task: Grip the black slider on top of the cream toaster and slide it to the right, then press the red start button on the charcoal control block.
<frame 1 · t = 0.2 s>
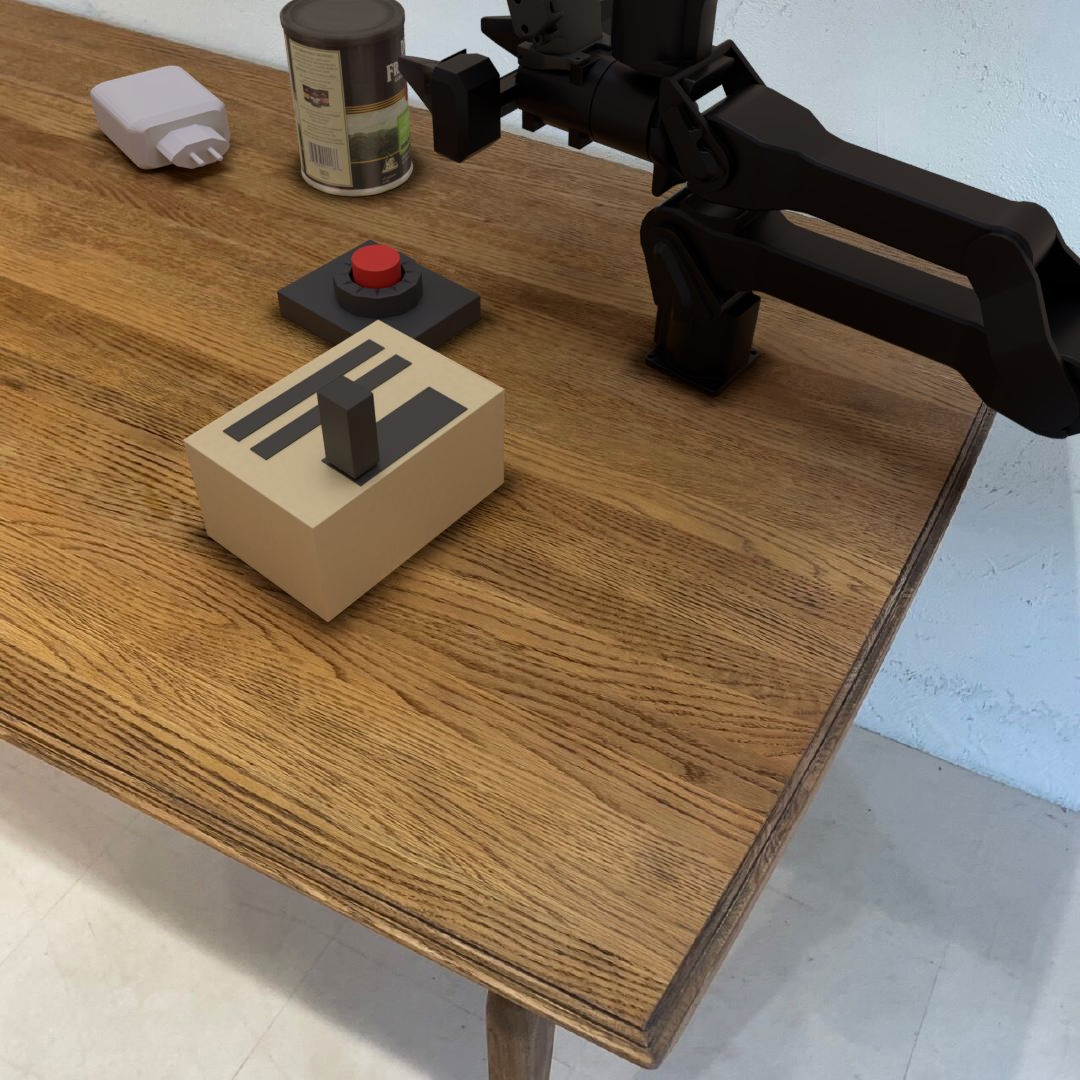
hand: (441, 42, 84), 17 cm above the table, tool horizontal, fingers open, 9 cm apart
slider: (349, 427, 63), point 11 cm above the table, slide at 0.0 cm
coffee can: (357, 171, 105), on the table
control block: (380, 316, 89), on the table
charger: (180, 155, 106), on the table
start button: (376, 267, 86), point 4 cm above the table, slide at 0.1 cm
toaster: (359, 508, 74), on the table
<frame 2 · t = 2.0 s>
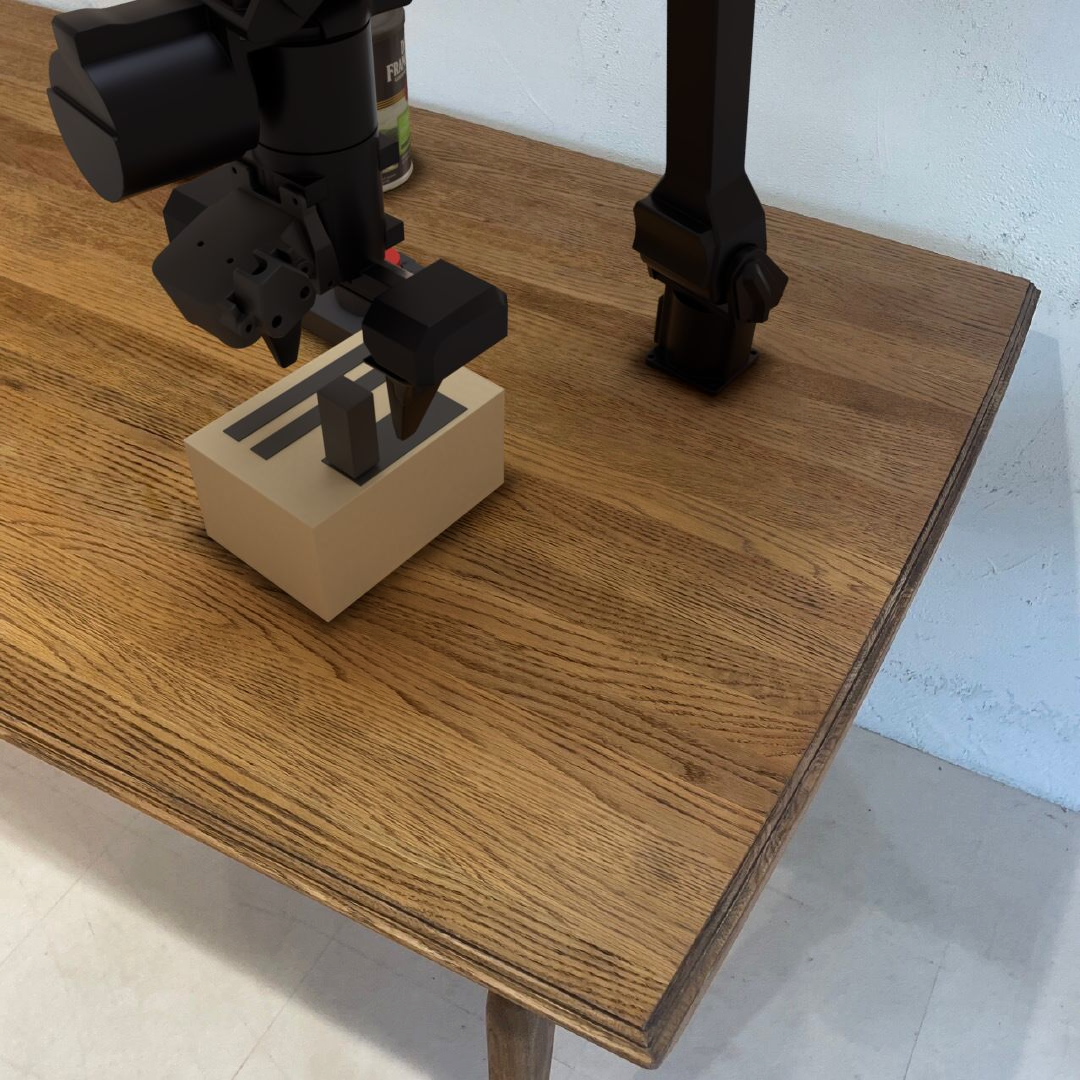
hand: (345, 399, 62), 13 cm above the table, tool pointing down, fingers open, 9 cm apart
nothing on the table moved.
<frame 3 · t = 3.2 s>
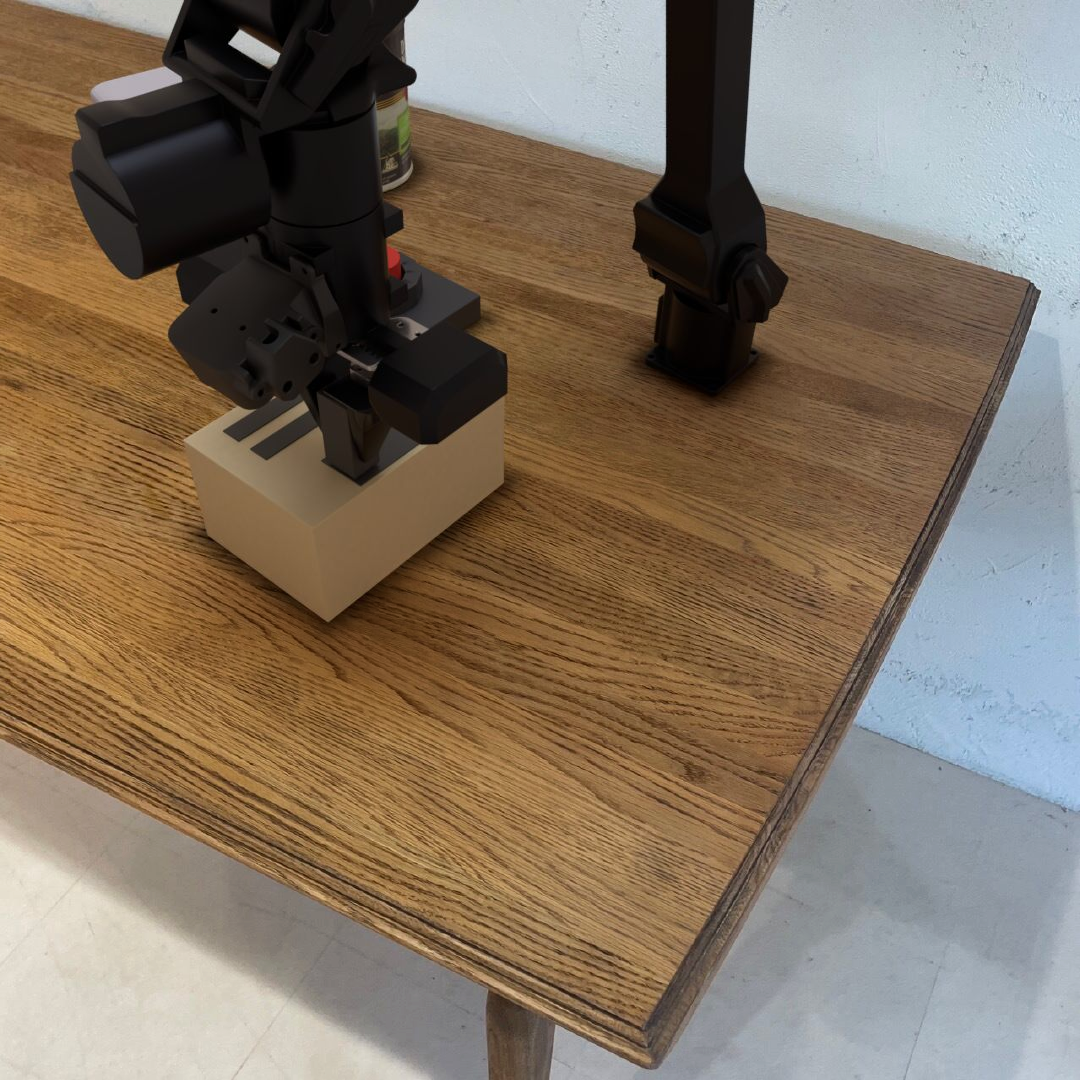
hand: (351, 447, 64), 9 cm above the table, tool pointing down, fingers closed on slider, 2 cm apart
slider: (349, 427, 63), point 11 cm above the table, slide at 0.0 cm, touching gripper
everything else where it was.
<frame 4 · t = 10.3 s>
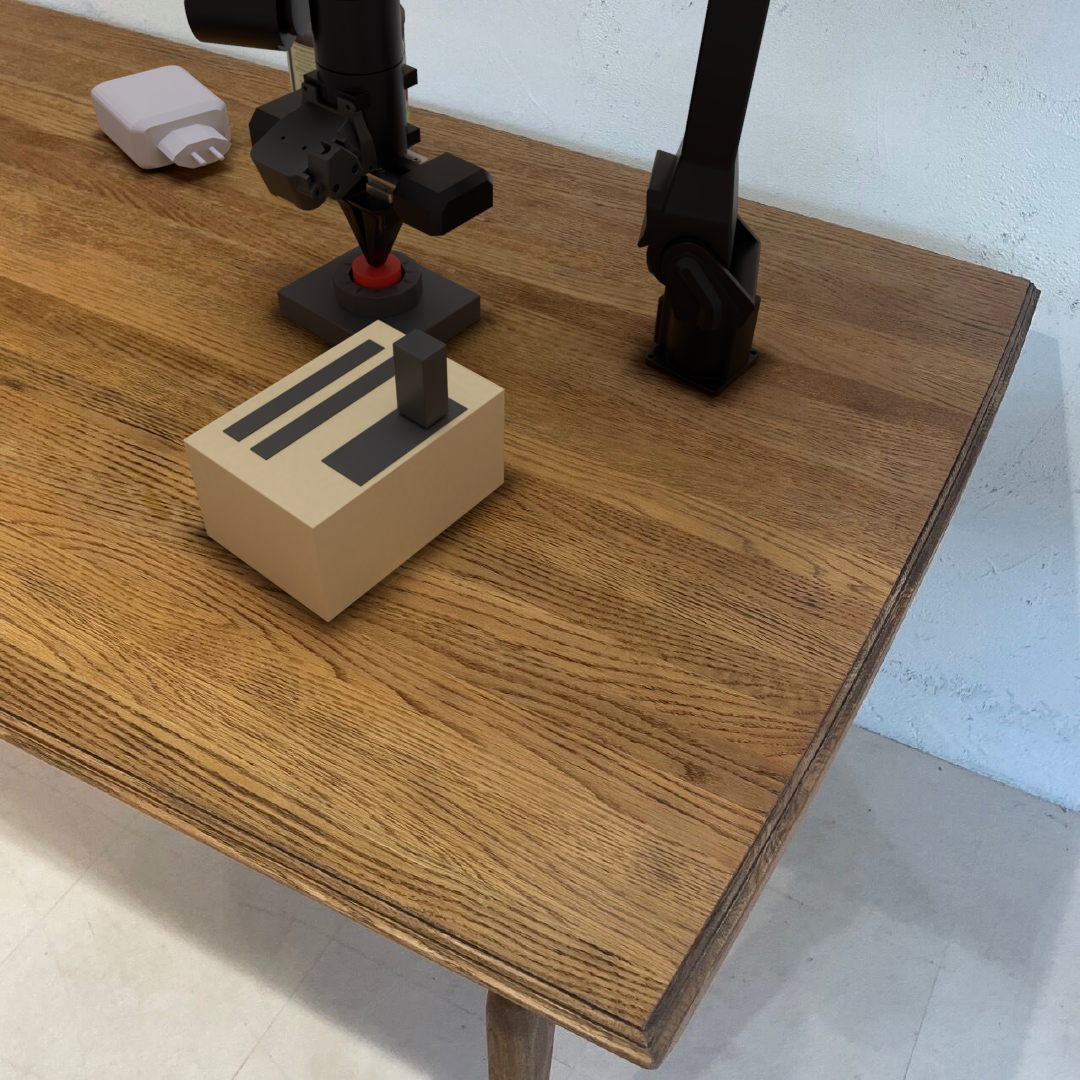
hand: (376, 264, 85), 5 cm above the table, tool pointing down, fingers closed, pressing on start button
slider: (421, 378, 66), point 11 cm above the table, slide at 5.8 cm
start button: (377, 274, 86), point 4 cm above the table, slide at -0.5 cm, touching gripper
everything else where it was.
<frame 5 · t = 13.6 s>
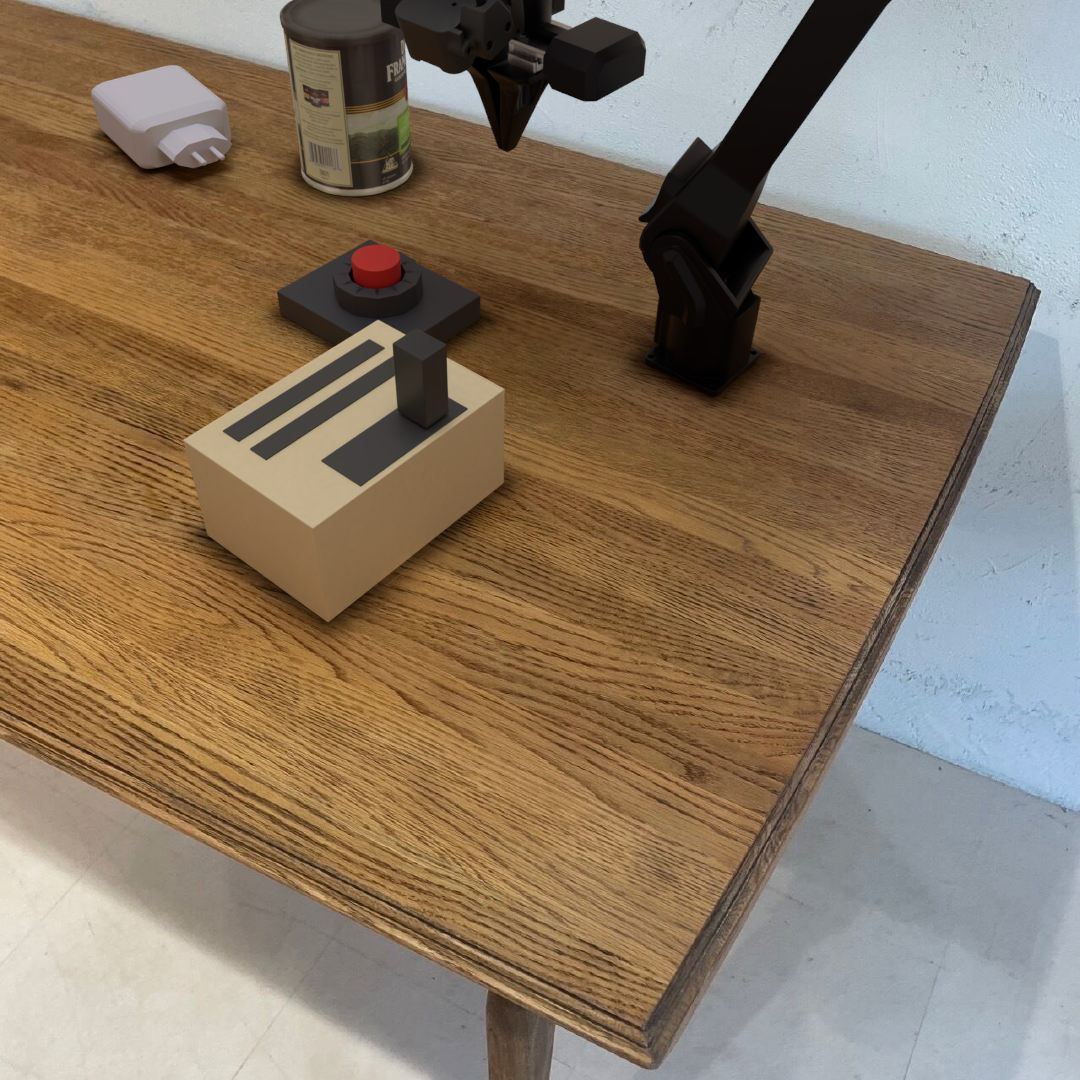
hand: (507, 148, 81), 13 cm above the table, tool pointing down, fingers closed
start button: (376, 267, 86), point 4 cm above the table, slide at 0.1 cm
everything else where it was.
at the end: slider slide at 5.8 cm; start button pushed in 1.1 cm at the most during the clip, back to where it started at the end; start button slide at 0.1 cm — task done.
